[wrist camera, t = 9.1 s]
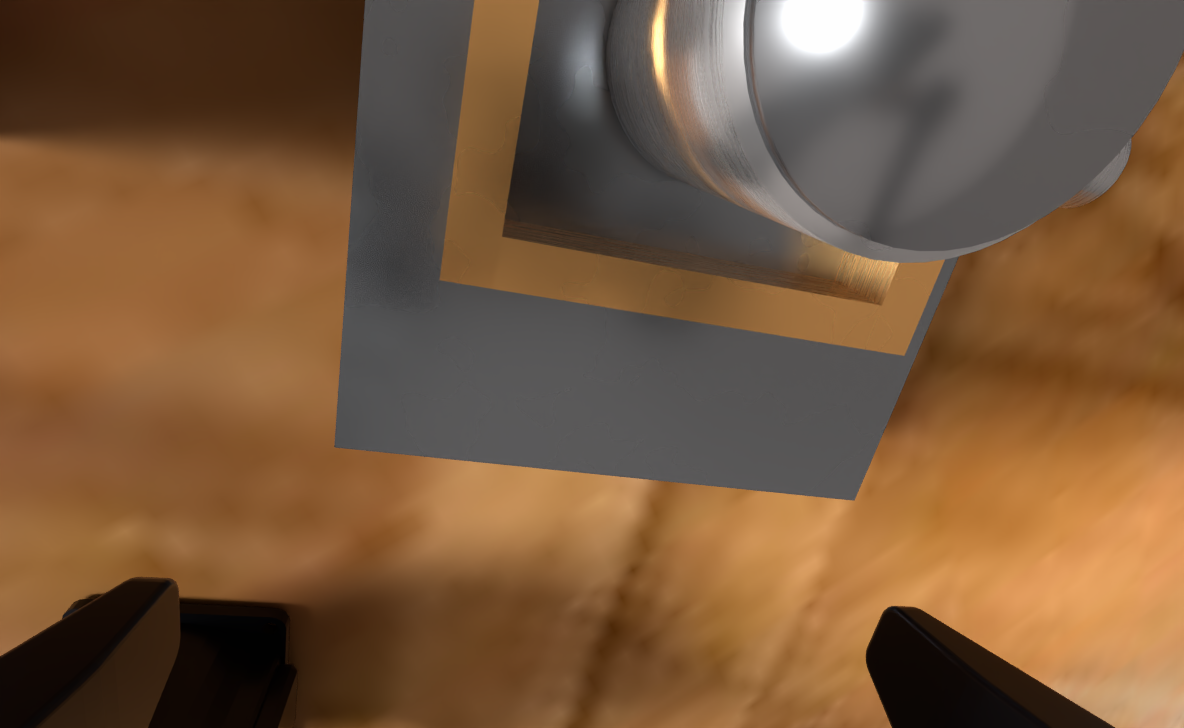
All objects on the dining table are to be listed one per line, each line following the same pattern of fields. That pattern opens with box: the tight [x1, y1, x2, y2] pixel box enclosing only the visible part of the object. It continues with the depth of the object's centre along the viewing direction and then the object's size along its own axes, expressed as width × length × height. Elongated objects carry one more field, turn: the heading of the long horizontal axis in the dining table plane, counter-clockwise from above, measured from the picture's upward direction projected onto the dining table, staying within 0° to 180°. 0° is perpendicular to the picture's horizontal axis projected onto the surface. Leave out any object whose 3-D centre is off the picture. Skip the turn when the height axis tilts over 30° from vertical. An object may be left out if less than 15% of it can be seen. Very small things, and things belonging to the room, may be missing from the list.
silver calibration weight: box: [606, 0, 1184, 263], centre depth 8 cm, size 5×6×9 cm
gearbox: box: [335, 0, 1131, 500], centre depth 14 cm, size 18×20×6 cm
